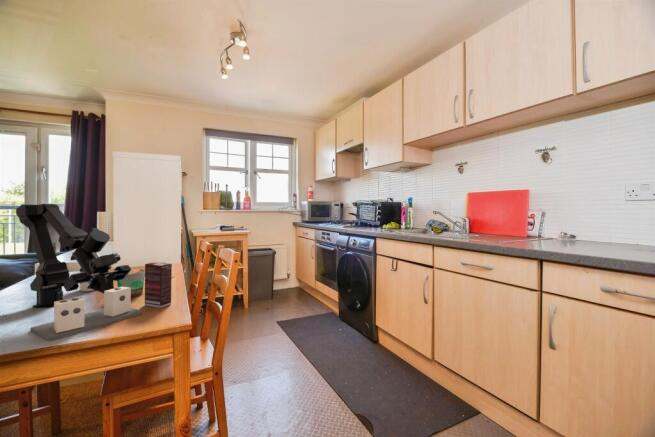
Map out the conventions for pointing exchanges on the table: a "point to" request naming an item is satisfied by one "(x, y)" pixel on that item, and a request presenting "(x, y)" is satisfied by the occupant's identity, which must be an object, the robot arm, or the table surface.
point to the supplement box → (158, 284)
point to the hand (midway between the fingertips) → (112, 295)
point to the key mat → (90, 322)
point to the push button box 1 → (117, 301)
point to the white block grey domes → (68, 314)
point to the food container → (133, 282)
